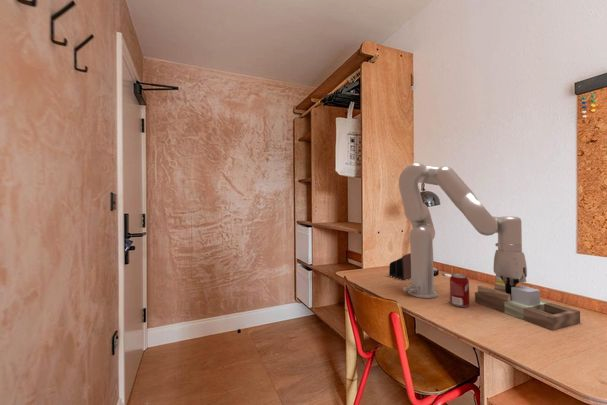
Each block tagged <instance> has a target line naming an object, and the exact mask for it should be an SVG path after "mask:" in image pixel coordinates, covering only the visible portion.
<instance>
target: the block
mask: <svg viewBox="0 0 607 405" xmlns="http://www.w3.org/2000/svg"><path fill="white" fill-rule="evenodd" d="M511 295H512V301H515V302H518V303H521V304H524V305H527V306H531V305H536V304H540V300H541V290H540V289H538V288H537V289H536V288H533V287H531V286H530V287H529V286H526V285H517V286H516V287H511Z"/></svg>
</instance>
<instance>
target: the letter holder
mask: <svg viewBox="0 0 607 405" xmlns="http://www.w3.org/2000/svg"><path fill="white" fill-rule="evenodd" d="M388 271H389V274H388V275H389V276H392V277H391V278H393V277H395V278H394V279H396V278H398V279H397V280H400V279H401V280H400V281H403V280H404V281H407V280H406V279H408V280H411V279H410V278H411V252H410V253H407V254H403V255H402V257H400V258H398V259H396V260H394V261H392V262H391V261H390V263H389V270H388Z"/></svg>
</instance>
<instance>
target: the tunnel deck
mask: <svg viewBox="0 0 607 405" xmlns="http://www.w3.org/2000/svg"><path fill="white" fill-rule="evenodd" d="M493 286H494V288H491V287H487V286H483V285H477V291H475V292H474V302H475V303H477V304H479V305H482V306H485V307H487V308H490V309H493V310H496V311H498V312H502V313H504V314H506V315H509V316H513V317H515V318H517V319H520V320H524V321H525V322H528V323H531V324H534V325H536V326H540V327H542V328H546V329H547V330H551V331H555V330H558V329H562V328H563V329H564V328H566V327H570V326H573V325H577V324H580V323H581V311H580V310H579V309H578V310H577V309H574V308H570V307H567V306H565V305H560V304H556V303H555V302H554V303H553V302H549V301H545V300H543V299H540V304H536V305H531V306H527V305H524V304H521V303H518V302H515V301H512V295H510V294H507V293H506V291H505V285H503V284H500V283H496V282H495V283H494V284H493Z"/></svg>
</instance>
